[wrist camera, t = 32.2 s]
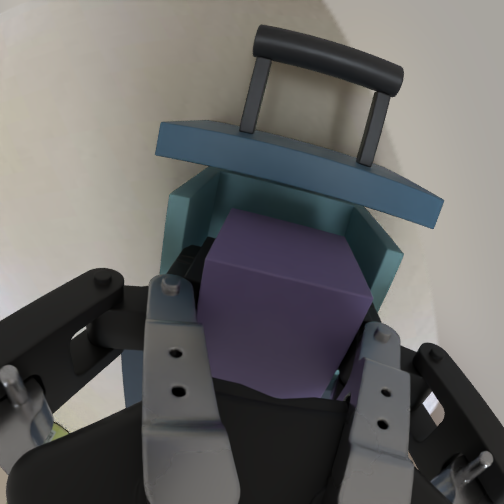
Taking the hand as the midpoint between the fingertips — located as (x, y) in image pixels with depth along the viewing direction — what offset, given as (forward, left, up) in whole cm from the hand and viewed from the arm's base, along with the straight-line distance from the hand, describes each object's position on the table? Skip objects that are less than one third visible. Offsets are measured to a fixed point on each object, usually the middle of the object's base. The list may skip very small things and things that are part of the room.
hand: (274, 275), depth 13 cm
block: (0, 0, 0) cm, 0 cm away
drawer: (-1, 0, -6) cm, 6 cm away
